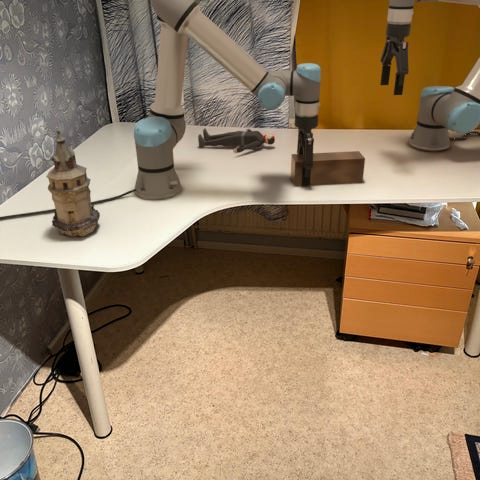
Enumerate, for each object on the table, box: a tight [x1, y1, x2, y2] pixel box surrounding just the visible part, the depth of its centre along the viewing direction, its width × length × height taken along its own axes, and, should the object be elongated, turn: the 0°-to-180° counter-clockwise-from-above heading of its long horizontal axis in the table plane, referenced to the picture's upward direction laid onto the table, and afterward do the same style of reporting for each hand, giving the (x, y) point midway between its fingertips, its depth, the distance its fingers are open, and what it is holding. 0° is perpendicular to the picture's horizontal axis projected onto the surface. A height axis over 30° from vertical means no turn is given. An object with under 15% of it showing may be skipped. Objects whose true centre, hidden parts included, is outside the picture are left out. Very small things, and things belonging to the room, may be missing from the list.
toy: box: [197, 128, 276, 154], centre depth 214 cm, size 26×6×30 cm
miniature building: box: [46, 129, 101, 237], centre depth 148 cm, size 13×14×30 cm
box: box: [290, 150, 366, 187], centre depth 182 cm, size 24×7×9 cm, turn 95°
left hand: (303, 180), depth 183 cm, fingers open, 7 cm apart
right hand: (390, 89), depth 182 cm, fingers open, 13 cm apart
